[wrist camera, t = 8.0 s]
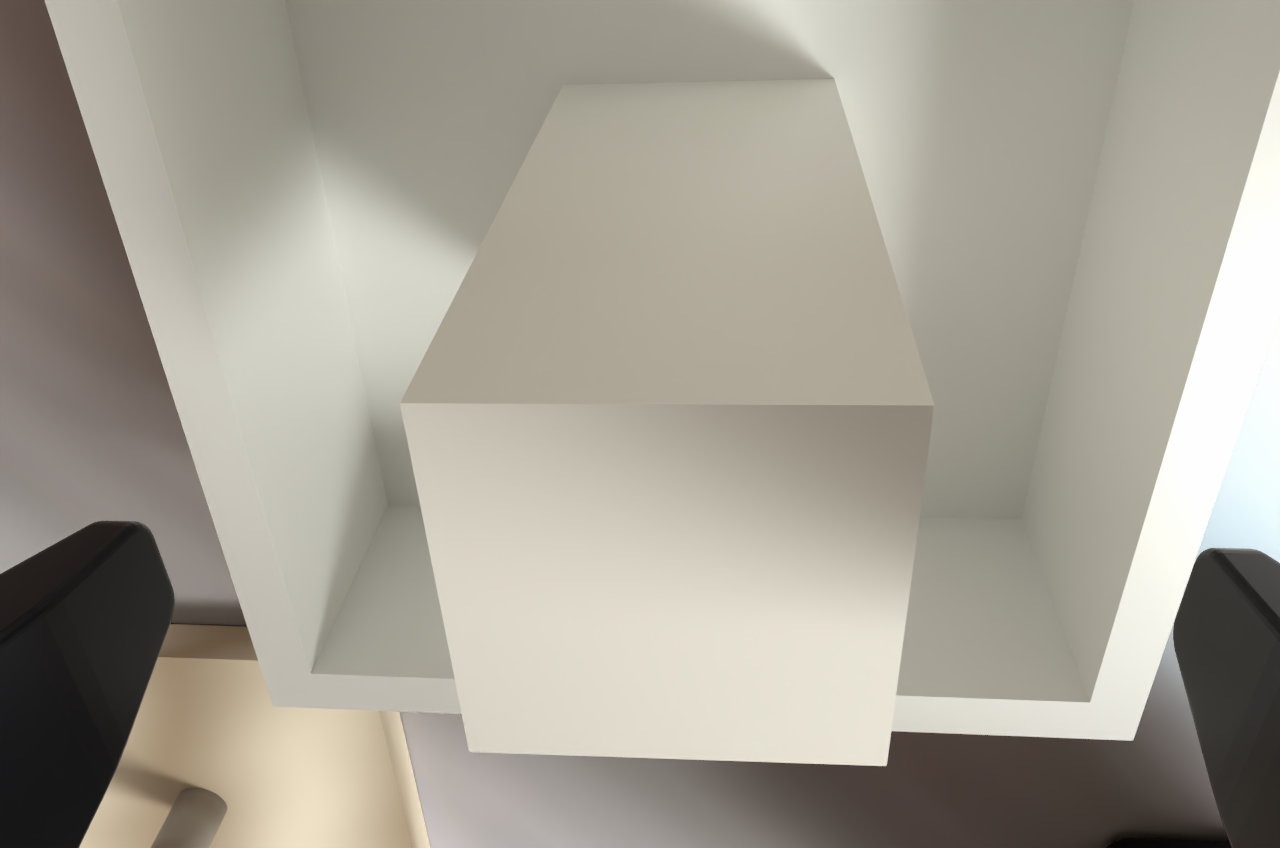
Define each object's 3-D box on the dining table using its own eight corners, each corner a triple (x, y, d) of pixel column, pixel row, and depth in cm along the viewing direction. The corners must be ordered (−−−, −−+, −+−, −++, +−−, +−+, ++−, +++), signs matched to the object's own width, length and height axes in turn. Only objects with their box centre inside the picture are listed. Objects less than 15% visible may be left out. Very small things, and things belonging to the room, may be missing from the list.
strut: (834, 79, 15) (934, 406, 8) (820, 323, 17) (886, 766, 10) (562, 84, 15) (400, 403, 8) (582, 324, 18) (469, 752, 10)
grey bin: (1257, -338, 13) (1516, -382, 8) (1049, 534, 20) (1133, 740, 16) (184, -295, 14) (-57, -313, 10) (364, 517, 21) (272, 706, 17)
